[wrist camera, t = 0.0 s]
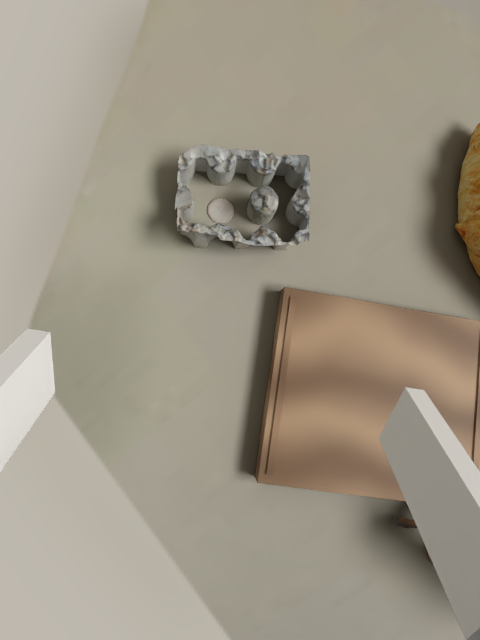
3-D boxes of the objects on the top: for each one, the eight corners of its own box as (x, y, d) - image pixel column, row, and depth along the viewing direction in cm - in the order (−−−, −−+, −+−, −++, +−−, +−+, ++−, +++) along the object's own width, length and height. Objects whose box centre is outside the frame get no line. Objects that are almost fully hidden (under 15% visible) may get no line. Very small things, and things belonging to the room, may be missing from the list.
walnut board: (467, 503, 30) (482, 511, 28) (254, 476, 28) (257, 483, 26) (479, 325, 31) (494, 323, 30) (280, 290, 30) (285, 286, 28)
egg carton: (174, 249, 30) (169, 231, 26) (180, 164, 31) (177, 134, 26) (299, 259, 31) (314, 243, 27) (302, 176, 32) (317, 149, 27)
